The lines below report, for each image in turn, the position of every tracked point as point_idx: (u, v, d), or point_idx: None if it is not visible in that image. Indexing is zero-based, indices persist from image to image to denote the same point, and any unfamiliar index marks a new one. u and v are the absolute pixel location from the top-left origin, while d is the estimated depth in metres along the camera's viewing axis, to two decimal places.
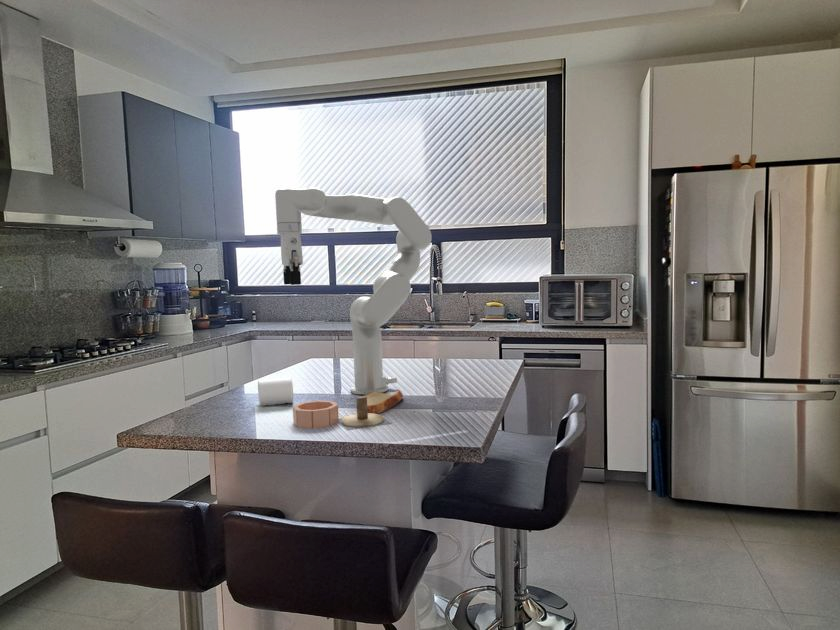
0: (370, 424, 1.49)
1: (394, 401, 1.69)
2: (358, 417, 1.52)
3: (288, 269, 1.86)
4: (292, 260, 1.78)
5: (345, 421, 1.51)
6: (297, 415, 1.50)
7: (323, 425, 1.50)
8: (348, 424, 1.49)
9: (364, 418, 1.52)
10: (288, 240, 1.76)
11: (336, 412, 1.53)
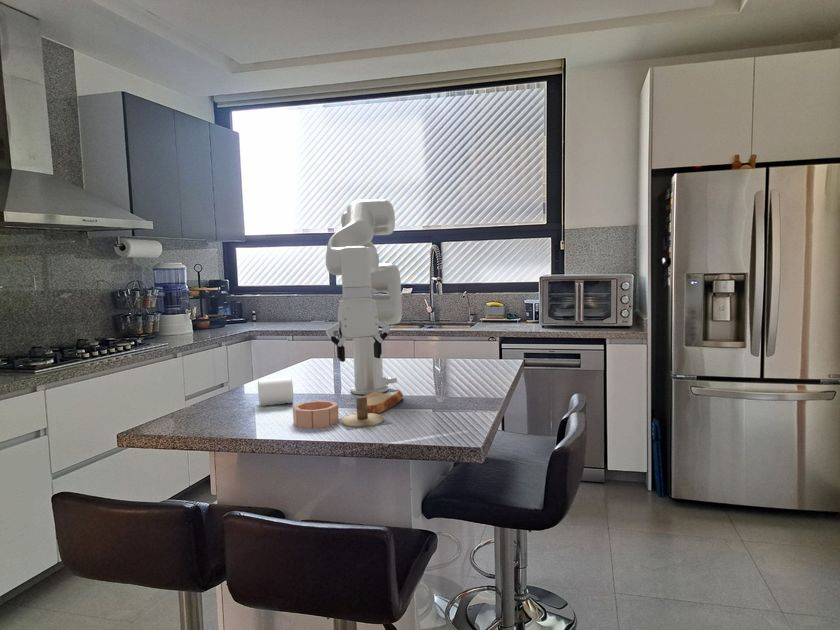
0: (370, 424, 1.49)
1: (394, 401, 1.69)
2: (358, 417, 1.52)
3: None
4: None
5: (345, 421, 1.51)
6: (297, 415, 1.50)
7: (323, 425, 1.50)
8: (348, 424, 1.49)
9: (364, 418, 1.52)
10: (376, 307, 1.51)
11: (336, 412, 1.53)
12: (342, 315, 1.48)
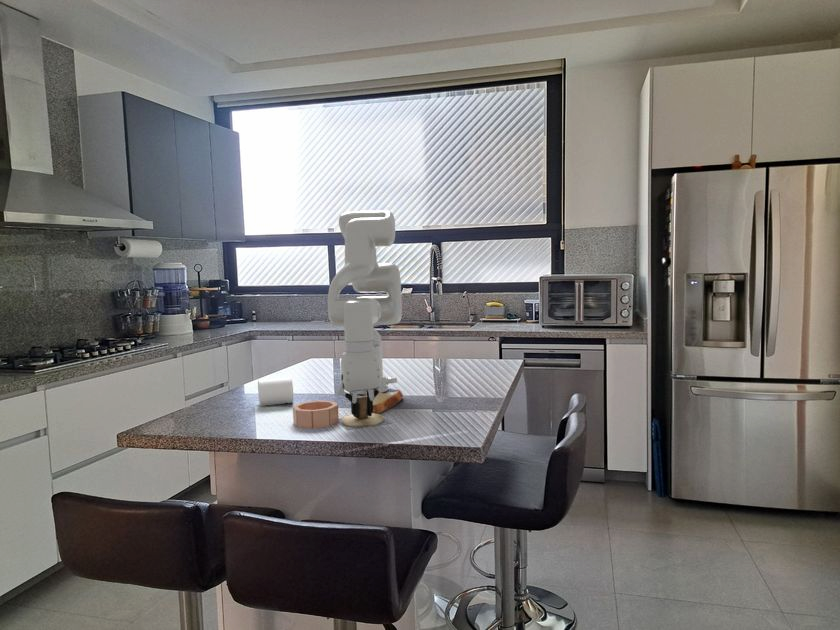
0: (370, 424, 1.49)
1: (394, 401, 1.69)
2: None
3: None
4: None
5: (345, 421, 1.51)
6: (297, 415, 1.50)
7: (323, 425, 1.50)
8: (348, 424, 1.49)
9: (364, 418, 1.52)
10: (378, 360, 1.53)
11: (336, 412, 1.53)
12: (345, 369, 1.49)
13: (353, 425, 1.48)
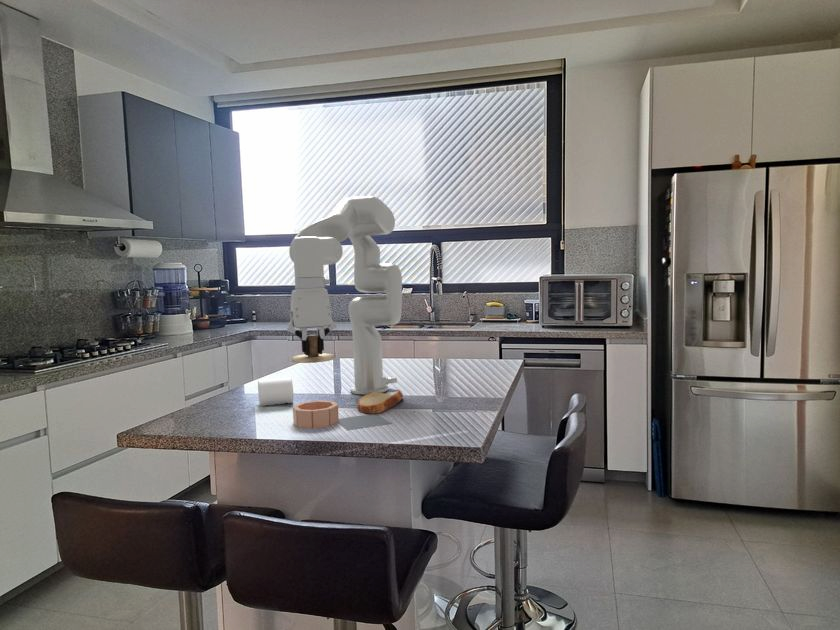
0: (319, 360, 1.48)
1: (394, 401, 1.69)
2: (308, 355, 1.52)
3: None
4: None
5: (295, 358, 1.50)
6: (297, 415, 1.50)
7: (323, 425, 1.50)
8: (297, 360, 1.49)
9: (314, 356, 1.52)
10: (328, 297, 1.52)
11: (336, 412, 1.53)
12: (294, 305, 1.49)
13: (302, 361, 1.48)
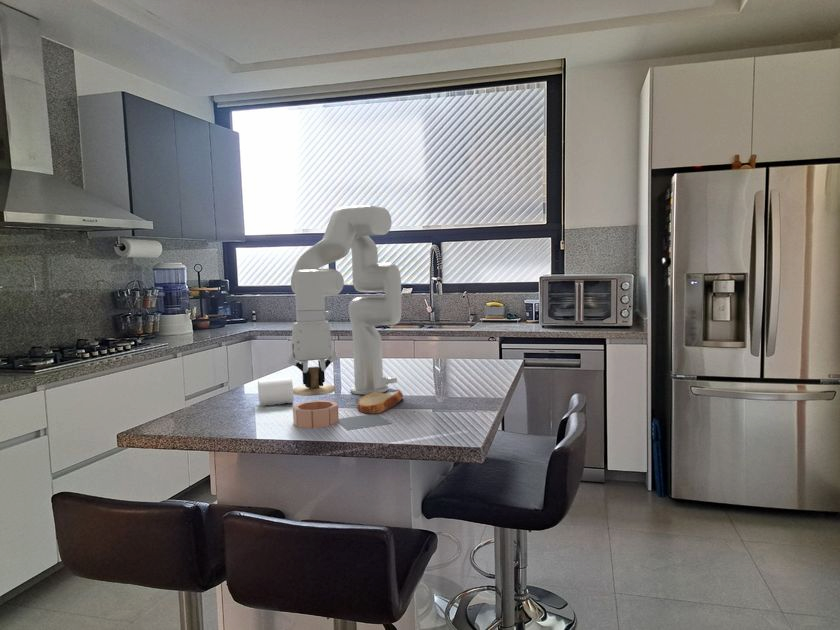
0: (320, 393, 1.49)
1: (394, 401, 1.69)
2: None
3: None
4: None
5: (296, 390, 1.51)
6: (297, 415, 1.50)
7: (323, 425, 1.50)
8: (298, 393, 1.49)
9: (315, 388, 1.52)
10: (329, 330, 1.53)
11: (336, 412, 1.53)
12: (295, 338, 1.49)
13: (303, 394, 1.48)
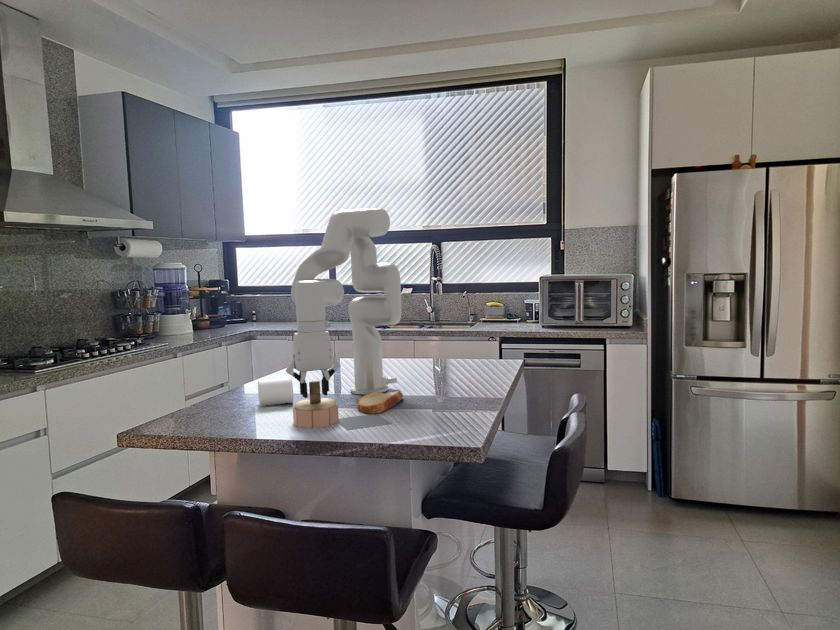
0: (321, 408, 1.49)
1: (394, 401, 1.69)
2: (311, 401, 1.53)
3: None
4: None
5: (297, 405, 1.52)
6: (297, 415, 1.50)
7: (323, 425, 1.50)
8: (300, 408, 1.50)
9: (316, 402, 1.53)
10: (330, 340, 1.53)
11: (336, 412, 1.53)
12: (296, 349, 1.50)
13: (304, 409, 1.49)
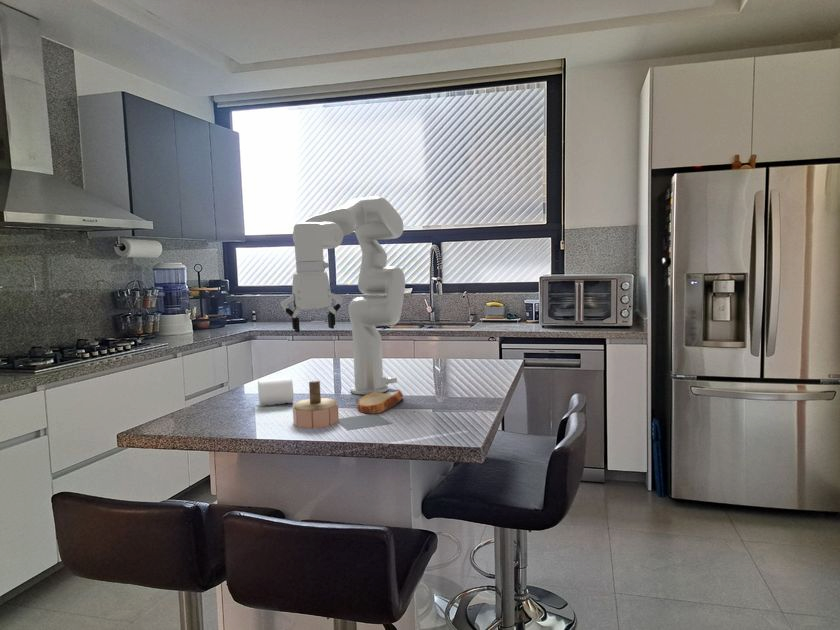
0: (321, 408, 1.49)
1: (394, 401, 1.69)
2: (311, 401, 1.53)
3: None
4: None
5: (297, 405, 1.52)
6: (297, 415, 1.50)
7: (323, 425, 1.50)
8: (300, 408, 1.50)
9: (316, 402, 1.53)
10: (328, 280, 1.60)
11: (336, 412, 1.53)
12: (296, 288, 1.56)
13: (304, 409, 1.49)
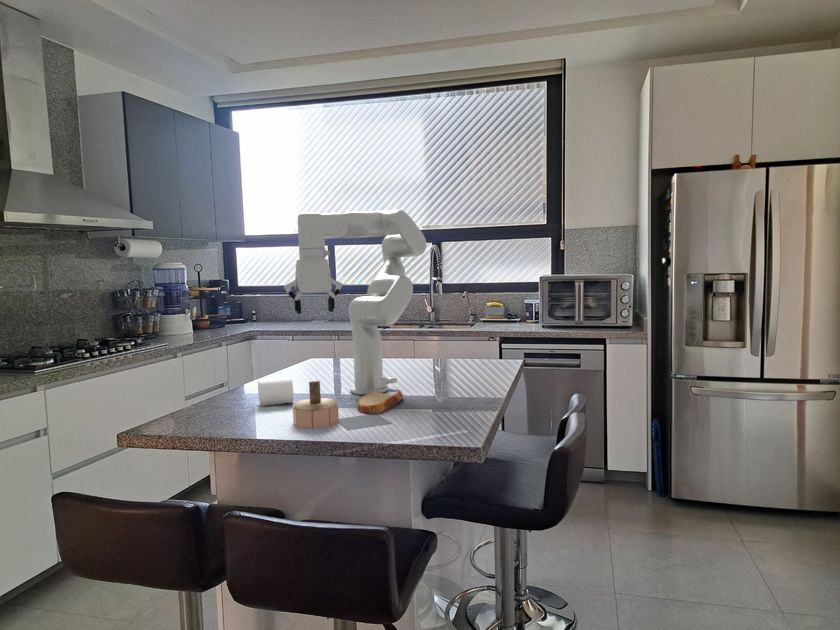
0: (321, 408, 1.49)
1: (394, 401, 1.69)
2: (311, 401, 1.53)
3: None
4: None
5: (297, 405, 1.52)
6: (297, 415, 1.50)
7: (323, 425, 1.50)
8: (300, 408, 1.50)
9: (316, 402, 1.53)
10: None
11: (336, 412, 1.53)
12: (298, 273, 1.69)
13: (304, 409, 1.49)
